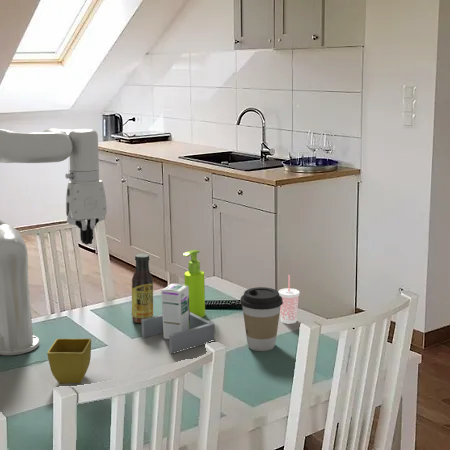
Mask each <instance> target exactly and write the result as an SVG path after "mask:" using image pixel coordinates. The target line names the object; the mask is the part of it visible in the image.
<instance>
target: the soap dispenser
mask: <svg viewBox="0 0 450 450" xmlns="http://www.w3.org/2000/svg"><path fill="white" fill-rule="evenodd" d="M199 253H200V250H199V249H198V250H197V249H192V250H191V249H190V250H188V251H186V252H183V253H182V257H183V256H184V257H189V256H190V260H188V263H187V264H188V266H187V267H188V271H185V272H184V274H183V275H184V285H187V286H189V308H190V312H191V313H193V314H195V315H197V316H199V317H202V318H203V317H205V316H206V302H205V301H206V298H205V297H206V296H205V295H206V294H205V285H206V284H205V272H204V271H202V270H201V262H200V260H198V254H199Z"/></svg>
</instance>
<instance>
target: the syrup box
mask: <svg viewBox="0 0 450 450" xmlns="http://www.w3.org/2000/svg"><path fill="white" fill-rule="evenodd" d="M160 291H161V293H160V295H161V312H162V313H161V314H162V315H163V333H162V334H163V339H165V340H168V339H169V335H171V334H174V333H177V332H181V331H184V330H188V329H190V308H189V286H187V285H185V284H182V283H170V284H169V285H167V286H166V287H164V288H162V289H161V290H160Z"/></svg>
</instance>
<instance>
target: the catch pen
mask: <svg viewBox="0 0 450 450" xmlns="http://www.w3.org/2000/svg"><path fill="white" fill-rule="evenodd" d="M140 324H141V337H142V338H145V339H146V338H149V337H152V336H156V335H160V334H163V315H162V313H160V314H158V315H153V316H152V317H149V318H146V319H142V320H141V323H140ZM215 326H216V325H215V323H213V322H212V321H209V320H208V319H206V318H203V317H199V316H197V315H195V314H193V313H191V312H190V329H188V330H184V331H181V332H177V333H174V334H171V335H169V340H168V341H169V342H168V343H169V345H168V346H169V353H170V352H171V353H174V352H177V351H180V350H183V349H187V348H190V347H194V346H197V347H199V346H198V345H200V346H202V345H201V344H204V343H206V342H209V341H211V340H215V341H216V339H215V338H216V336H215V335H216V334H215V333H216V332H215V331H216V328H215ZM204 345H205V344H204ZM194 348H195V347H194ZM187 350H188V349H187ZM171 353H170V354H171ZM174 354H175V353H174Z"/></svg>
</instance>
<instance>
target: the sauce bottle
mask: <svg viewBox="0 0 450 450" xmlns="http://www.w3.org/2000/svg"><path fill="white" fill-rule="evenodd" d="M134 256H135V257H134V260H135V271H134V273H133V276H132V279H131V315H132V317H131V320H132V322H133V323H136V324H141V320H142V319H146V318H149V317H153V316H154V282H153V281H154V280H153V275H152V273H151V271H150V265H149V263H150V262H149V261H150V255H149V254H148V253H147V254H146V253H139V254H135V255H134Z"/></svg>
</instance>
